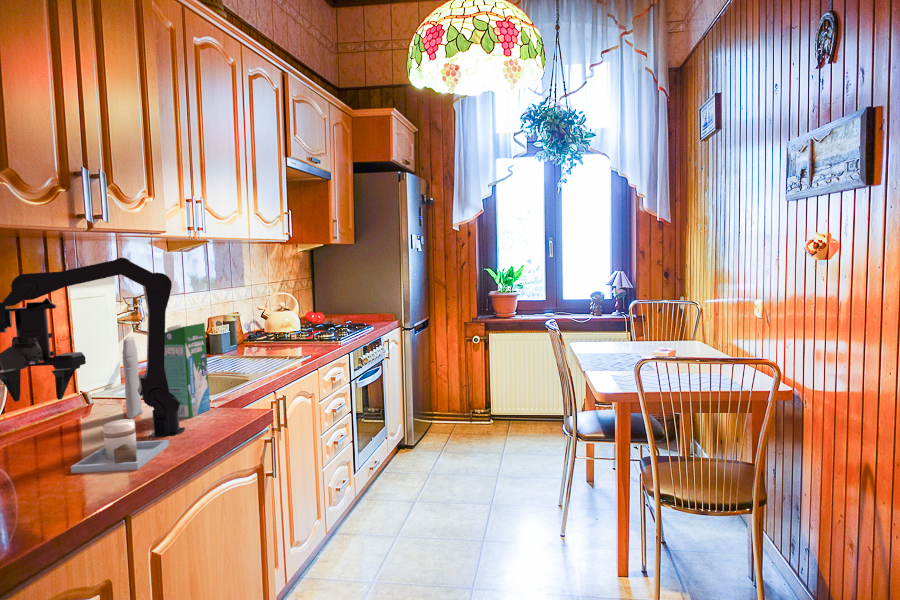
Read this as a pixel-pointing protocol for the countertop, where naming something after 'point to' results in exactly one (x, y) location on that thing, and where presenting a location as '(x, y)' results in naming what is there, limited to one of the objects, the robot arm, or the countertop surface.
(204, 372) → the milk carton
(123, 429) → the cream lidded jar
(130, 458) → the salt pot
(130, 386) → the tall pale column
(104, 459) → the tray
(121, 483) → the countertop surface
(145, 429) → the countertop surface
